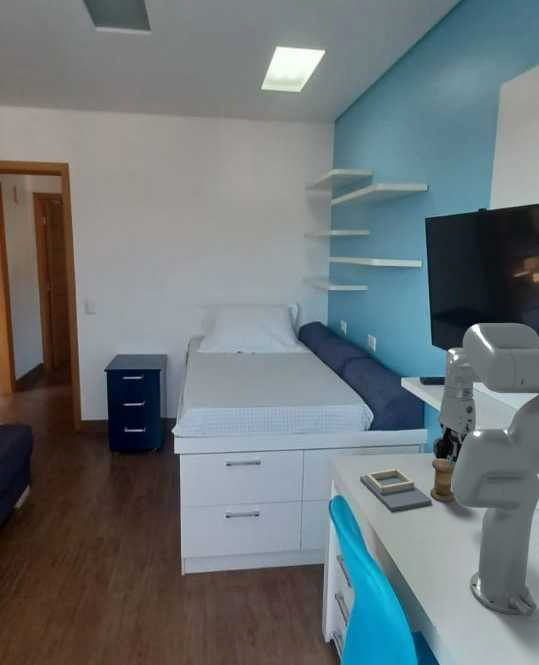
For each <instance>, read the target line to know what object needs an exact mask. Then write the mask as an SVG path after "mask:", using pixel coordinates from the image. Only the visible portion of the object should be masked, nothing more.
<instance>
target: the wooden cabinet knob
mask: <svg viewBox="0 0 539 665" xmlns="http://www.w3.org/2000/svg"><path fill="white" fill-rule="evenodd" d="M431 463H432V464H431V466H432V468H434V470H435V471H434V483H433V484H434V485H433V488H431V489H430V497H431V498H432V499H434V500H436V501H439V502H444V503H450V502H452V501H454V498H455V496H454V494H453V491H452V476H453V471H454V466H453V467H452V465H449V460H448V461H447V459H436V458H435V459H433V460H432V462H431Z"/></svg>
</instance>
